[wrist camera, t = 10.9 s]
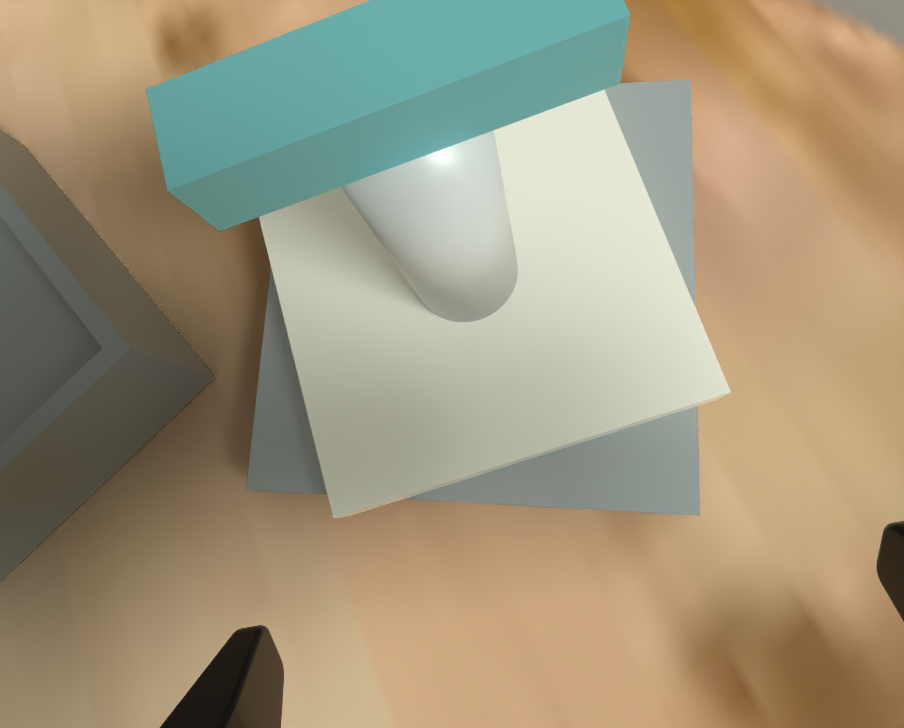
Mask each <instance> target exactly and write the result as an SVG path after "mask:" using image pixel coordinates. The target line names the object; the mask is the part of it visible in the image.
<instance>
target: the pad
mask: <svg viewBox="0 0 904 728" xmlns="http://www.w3.org/2000/svg"><path fill="white" fill-rule="evenodd" d="M604 90H605V92H606V95H607V97H608V99H609V102H610V104H611V107H612V109H613V111H614V114H615V116H616V119H617V121H618V123H619V126H620V128H621V131H622V133H623V135H624V138H625V140H626V143H627V145H628V147H629V150H630V152H631V155H632V157H633V159H634V162H635V164H636V167H637V169H638V171H639V174H640V176H641V179H642V181H643V183H644V186H645V188H646V191H647V193H648V195H649V198H650V200H651V203H652V205H653V207H654V210H655V212H656V214H657V217H658V219H659V222H660V224H661V226H662V229H663V231H664V234H665V236H666V238H667V241H668V243H669V246H670V248H671V250H672V253H673V255H674V258H675V260H676V262H677V265H678V267H679V270H680V272H681V274H682V277H683V279H684V282H685V284H686V286H687V289H688V291H689V294H690V296H691V298H692V301H693V303H694V306H695V266H694V220H693V174H692V128H691V81H690V80H675V81H656V82H637V83H620V84H618V85H615V86H612V87H610V88H607V89H604ZM246 490H253V491H271V492H289V493H307V494H324V495H327V491H326V487H325V483H324V479H323V475H322V471H321V467H320V462H319V458H318V454H317V450H316V446H315V442H314V438H313V434H312V430H311V426H310V422H309V418H308V414H307V410H306V406H305V402H304V398H303V394H302V390H301V386H300V382H299V378H298V374H297V369H296V365H295V361H294V357H293V353H292V349H291V345H290V341H289V337H288V333H287V329H286V325H285V321H284V317H283V313H282V309H281V305H280V301H279V297H278V293H277V289H276V285H275V281H274V276H273V272H272V268H271V271H270V280H269V289H268V298H267V307H266V316H265V325H264V334H263V343H262V352H261V360H260V369H259V378H258V387H257V396H256V405H255V414H254V423H253V432H252V441H251V450H250V459H249V467H248V476H247V485H246ZM406 499H413V500H431V501H448V502H466V503H484V504H502V505H519V506H537V507H555V508H572V509H590V510H608V511H626V512H643V513H661V514H679V515H696V516H700V498H699V452H698V406H696V407H692V408H689V409H686V410H683V411H680V412H677V413H674V414H670V415H667V416H664V417H661V418H658V419H655V420H651V421H648V422H645V423H642V424H639V425H636V426H633V427H629V428H626V429H623V430H620V431H617V432H614V433H610V434H607V435H604V436H601V437H598V438H595V439H592V440H588V441H585V442H582V443H579V444H576V445H573V446H569V447H566V448H563V449H560V450H557V451H554V452H551V453H547V454H544V455H541V456H538V457H535V458H532V459H529V460H525V461H522V462H519V463H516V464H513V465H510V466H506V467H503V468H500V469H497V470H494V471H491V472H488V473H484V474H481V475H478V476H475V477H472V478H469V479H465V480H462V481H459V482H456V483H453V484H450V485H447V486H443V487H440V488H437V489H434V490H431V491H428V492H424V493H421V494H418V495H415V496H412V497H409V498H406Z"/></svg>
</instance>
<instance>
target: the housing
mask: <svg viewBox="0 0 904 728" xmlns="http://www.w3.org/2000/svg"><path fill="white" fill-rule="evenodd" d="M215 378H216V377H215V376H214V375H213V373H212V372H211V371H210V370H209V369H208V367H207V366H206V365H205V364H204V363H203V361H202V360H201V359H200V358H199V356H198V355H197V354H196V353H195V352H194V350H193V349H192V348H191V347H190V346H189V344H188V343H187V342H186V341H185V340H184V338H183V337H182V336H181V335H180V333H179V332H178V331H177V330H176V329H175V327H174V326H173V325H172V324H171V323H170V321H169V320H168V319H167V318H166V317H165V315H164V314H163V313H162V312H161V311H160V309H159V308H158V307H157V306H156V304H155V303H154V302H153V301H152V300H151V298H150V297H149V296H148V295H147V294H146V292H145V291H144V290H143V289H142V288H141V286H140V285H139V284H138V283H137V281H136V280H135V279H134V278H133V277H132V275H131V274H130V273H129V272H128V271H127V269H126V268H125V267H124V266H123V265H122V263H121V262H120V261H119V260H118V258H117V257H116V256H115V255H114V254H113V252H112V251H111V250H110V249H109V248H108V246H107V245H106V244H105V243H104V242H103V240H102V239H101V238H100V237H99V235H98V234H97V233H96V232H95V231H94V229H93V228H92V227H91V226H90V225H89V223H88V222H87V221H86V220H85V219H84V217H83V216H82V215H81V214H80V213H79V211H78V210H77V209H76V208H75V206H74V205H73V204H72V203H71V202H70V200H69V199H68V198H67V197H66V196H65V194H64V193H63V192H62V191H61V190H60V188H59V187H58V186H57V185H56V183H55V182H54V181H53V180H52V179H51V177H50V176H49V175H48V174H47V173H46V171H45V170H44V169H43V168H42V167H41V165H40V164H39V163H38V162H37V160H36V159H35V158H34V157H33V156H32V154H31V153H30V152H29V151H28V150H27V148H26V147H25V146H24V145H23V144H21V143H19V142H18V141H16V140H15V139H13V138H12V137H10V136H9V135H7V134H6V133H4V132H3V131H1V130H0V582H1V581H2V580H3V579H4V578H5V577H6V576H7V575H8V574H9V573H10V572H11V571H12V570H13V569H14V568H15V567H16V566H18V565H19V564H20V563H21V562H22V561H23V560H24V559H25V558H26V557H27V556H28V555H29V554H30V553H31V552H32V551H33V550H34V549H35V548H37V547H38V546H39V545H40V544H41V543H42V542H43V541H44V540H45V539H46V538H47V537H48V536H49V535H50V534H51V533H52V532H53V531H54V530H56V529H57V528H58V527H59V526H60V525H61V524H62V523H63V522H64V521H65V520H66V519H67V518H68V517H69V516H70V515H71V514H72V513H73V512H75V511H76V510H77V509H78V508H79V507H80V506H81V505H82V504H83V503H84V502H85V501H86V500H87V499H88V498H89V497H90V496H91V495H92V494H94V493H95V492H96V491H97V490H98V489H99V488H100V487H101V486H102V485H103V484H104V483H105V482H106V481H107V480H108V479H109V478H110V477H111V476H113V475H114V474H115V473H116V472H117V471H118V470H119V469H120V468H121V467H122V466H123V465H124V464H125V463H126V462H127V461H128V460H129V459H130V458H132V457H133V456H134V455H135V454H136V453H137V452H138V451H139V450H140V449H141V448H142V447H143V446H144V445H145V444H146V443H147V442H148V441H149V440H150V439H152V438H153V437H154V436H155V435H156V434H157V433H158V432H159V431H160V430H161V429H162V428H163V427H164V426H165V425H166V424H167V423H168V422H169V421H171V420H172V419H173V418H174V417H175V416H176V415H177V414H178V413H179V412H180V411H181V410H182V409H183V408H184V407H185V406H186V405H187V404H188V403H190V402H191V401H192V400H193V399H194V398H195V397H196V396H197V395H198V394H199V393H200V392H201V391H202V390H203V389H204V388H205V387H206V386H207V385H209V384H210V383H211V382H212V381H213V380H214V379H215Z"/></svg>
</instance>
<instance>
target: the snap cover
mask: <svg viewBox="0 0 904 728" xmlns="http://www.w3.org/2000/svg"><path fill="white" fill-rule="evenodd" d="M629 21H630V14H629V11H628V9H627V7H626V5H625V2H624V0H370V1H368V2H365V3H363V4H360V5H358V6H355V7H353V8H350V9H347V10H345V11H342V12H340V13H337V14H335V15H332V16H330V17H327V18H325V19H322V20H320V21H317V22H315V23H312V24H310V25H307V26H305V27H302V28H300V29H297V30H294V31H292V32H289V33H287V34H284V35H282V36H279V37H277V38H274V39H272V40H269V41H267V42H264V43H262V44H259V45H257V46H254V47H252V48H249V49H247V50H244V51H241V52H239V53H236V54H234V55H231V56H229V57H226V58H224V59H221V60H219V61H216V62H214V63H211V64H209V65H206V66H204V67H201V68H199V69H196V70H194V71H191V72H188V73H186V74H183V75H181V76H178V77H176V78H173V79H171V80H168V81H166V82H163V83H161V84H158V85H156V86H153V87H151V88H148V89H146V92H147V97H148V101H149V106H150V111H151V116H152V120H153V125H154V130H155V135H156V139H157V144H158V149H159V154H160V158H161V163H162V168H163V173H164V177H165V182H166V187H167V191H168V192H170V193H171V194H172V195H173V196H175V197H176V198H177V199H179V200H180V201H181V202H182V203H184V204H185V205H186V206H188V207H189V208H190V209H191V210H193V211H194V212H195V213H197V214H198V215H199V216H200V217H202V218H203V219H204V220H206V221H207V222H208V223H209V224H211V225H212V226H213V227H215V228H216V229H217V230H218V231H222V230H225V229H228V228H230V227H233V226H236V225H238V224H241V223H244V222H247V221H249V220H252V219H255V218H257V217H259V220H260V224H261V228H262V232H263V236H264V240H265V244H266V248H267V252H268V256H269V260H270V264H271V268H272V272H273V276H274V281H275V285H276V289H277V293H278V297H279V301H280V305H281V309H282V313H283V317H284V321H285V325H286V329H287V333H288V337H289V341H290V345H291V349H292V353H293V357H294V361H295V365H296V369H297V374H298V378H299V382H300V386H301V390H302V394H303V398H304V402H305V406H306V410H307V414H308V418H309V422H310V426H311V430H312V434H313V438H314V442H315V446H316V450H317V454H318V458H319V462H320V467H321V471H322V475H323V479H324V483H325V487H326V491H327V495H328V499H329V503H330V507H331V511H332V515H333V518H342V517H349V516H352V515H355V514H358V513H361V512H365V511H368V510H371V509H374V508H377V507H380V506H384V505H387V504H390V503H393V502H396V501H399V500H402V499H406V498H409V497H412V496H415V495H418V494H421V493H424V492H428V491H431V490H434V489H437V488H440V487H443V486H447V485H450V484H453V483H456V482H459V481H462V480H465V479H469V478H472V477H475V476H478V475H481V474H484V473H488V472H491V471H494V470H497V469H500V468H503V467H506V466H510V465H513V464H516V463H519V462H522V461H525V460H529V459H532V458H535V457H538V456H541V455H544V454H547V453H551V452H554V451H557V450H560V449H563V448H566V447H569V446H573V445H576V444H579V443H582V442H585V441H588V440H592V439H595V438H598V437H601V436H604V435H607V434H610V433H614V432H617V431H620V430H623V429H626V428H629V427H633V426H636V425H639V424H642V423H645V422H648V421H651V420H655V419H658V418H661V417H664V416H667V415H670V414H674V413H677V412H680V411H683V410H686V409H689V408H692V407H696V406H699V405H702V404H705V403H708V402H711V401H715V400H718V399H720V398H722V397H723V396H725V395H727V394H728V393H730V389H729V387H728V385H727V382H726V380H725V377H724V375H723V373H722V370H721V368H720V365H719V363H718V361H717V358H716V356H715V353H714V351H713V349H712V346H711V344H710V341H709V339H708V337H707V334H706V332H705V329H704V327H703V325H702V322H701V320H700V318H699V315H698V313H697V310H696V308H695V306H694V303H693V301H692V298H691V296H690V294H689V291H688V289H687V286H686V284H685V282H684V279H683V277H682V274H681V272H680V270H679V267H678V265H677V262H676V260H675V258H674V255H673V253H672V250H671V248H670V246H669V243H668V241H667V238H666V236H665V234H664V231H663V229H662V226H661V224H660V222H659V219H658V217H657V214H656V212H655V210H654V207H653V205H652V203H651V200H650V198H649V195H648V193H647V191H646V188H645V186H644V183H643V181H642V179H641V176H640V174H639V171H638V169H637V167H636V164H635V162H634V159H633V157H632V155H631V152H630V150H629V147H628V145H627V143H626V140H625V138H624V135H623V133H622V131H621V128H620V126H619V123H618V121H617V119H616V116H615V114H614V111H613V109H612V107H611V104H610V102H609V99H608V97H607V95H606V92H605V90H604V89H607V88H610V87H612V86H615V85H618V84H620V82H621V75H622V68H623V61H624V55H625V48H626V41H627V34H628V28H629Z"/></svg>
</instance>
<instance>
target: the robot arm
mask: <svg viewBox="0 0 904 728" xmlns="http://www.w3.org/2000/svg"><path fill="white" fill-rule="evenodd" d="M877 573H878V577H879V579H880V581H881V583H882V585H883V587H884V589H885V590H886V592H887V594H888V595H889V597H890V599H891V601H892V602H893V604H894V606H895V607H896V609H897V611H898V613H899V614H900V616H901V618H902V619H903V621H904V521H901V522H894V523H890V524H888V525H887V526H886V527H885V528H884V531H883V535H882V540H881V545H880V549H879V554H878V559H877ZM283 685H284V669H283V663H282V660H281V658H280V655H279V653H278V651H277V648H276V646H275V643H274V641H273V639H272V636H271V634H270V632H269V630H268V628H266V627H265V626H262V625H259V626H253V627H247V628H241V629H239V630H237V631H236V632H235V633H233V635H232V636H231V637H230V638H229V640H228V641H227V642H226V644H225V645H224V646H223V647H222V649H221V650H220V651H219V652H218V654H217V655H216V656H215V658H214V659H213V660H212V661H211V663H210V664H209V665H208V667H207V668H206V669H205V670H204V672H203V673H202V674H201V676H200V677H199V678H198V679H197V681H196V682H195V683H194V685H193V686H192V687H191V688H190V690H189V691H188V692H187V693H186V695H185V696H184V697H183V699H182V700H181V701H180V702H179V704H178V705H177V706H176V708H175V709H174V710H173V711H172V713H171V714H170V715H169V717H168V718H167V719H166V720H165V722H164V723H163V724H162V726H161V727H160V728H281V716H282V700H283Z"/></svg>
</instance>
